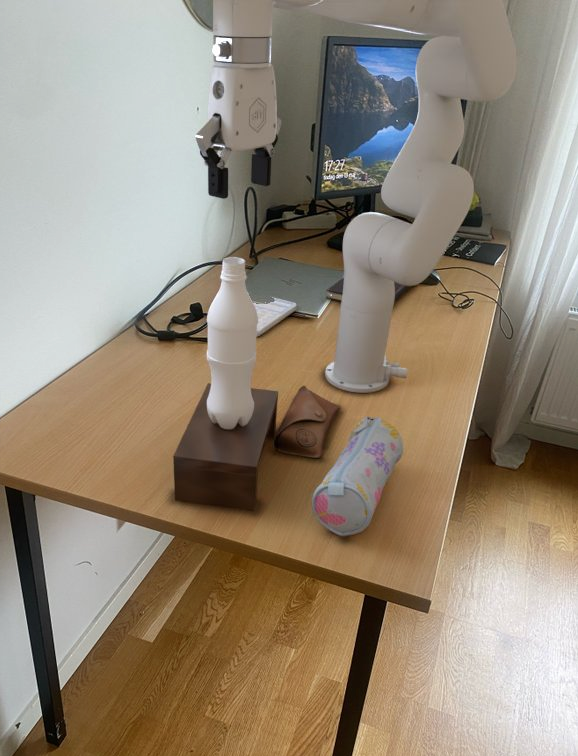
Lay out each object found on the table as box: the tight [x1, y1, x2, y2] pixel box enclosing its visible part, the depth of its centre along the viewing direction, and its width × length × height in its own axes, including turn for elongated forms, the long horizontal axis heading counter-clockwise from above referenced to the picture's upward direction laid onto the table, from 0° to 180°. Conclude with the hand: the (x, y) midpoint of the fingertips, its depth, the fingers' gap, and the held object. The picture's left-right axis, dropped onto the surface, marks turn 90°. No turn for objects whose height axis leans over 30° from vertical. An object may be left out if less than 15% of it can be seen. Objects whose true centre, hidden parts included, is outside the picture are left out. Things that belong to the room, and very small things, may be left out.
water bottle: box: [206, 256, 258, 430], centre depth 95 cm, size 7×7×25 cm
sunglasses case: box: [273, 385, 341, 459], centre depth 115 cm, size 18×7×7 cm
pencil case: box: [311, 416, 404, 537], centre depth 97 cm, size 21×9×10 cm, turn 156°
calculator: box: [253, 296, 297, 338], centre depth 155 cm, size 13×20×2 cm, turn 149°
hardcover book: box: [325, 276, 412, 304], centre depth 170 cm, size 16×23×2 cm
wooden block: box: [172, 382, 279, 512], centre depth 104 cm, size 12×22×8 cm, turn 170°
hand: (240, 190), depth 96 cm, fingers open, 9 cm apart
